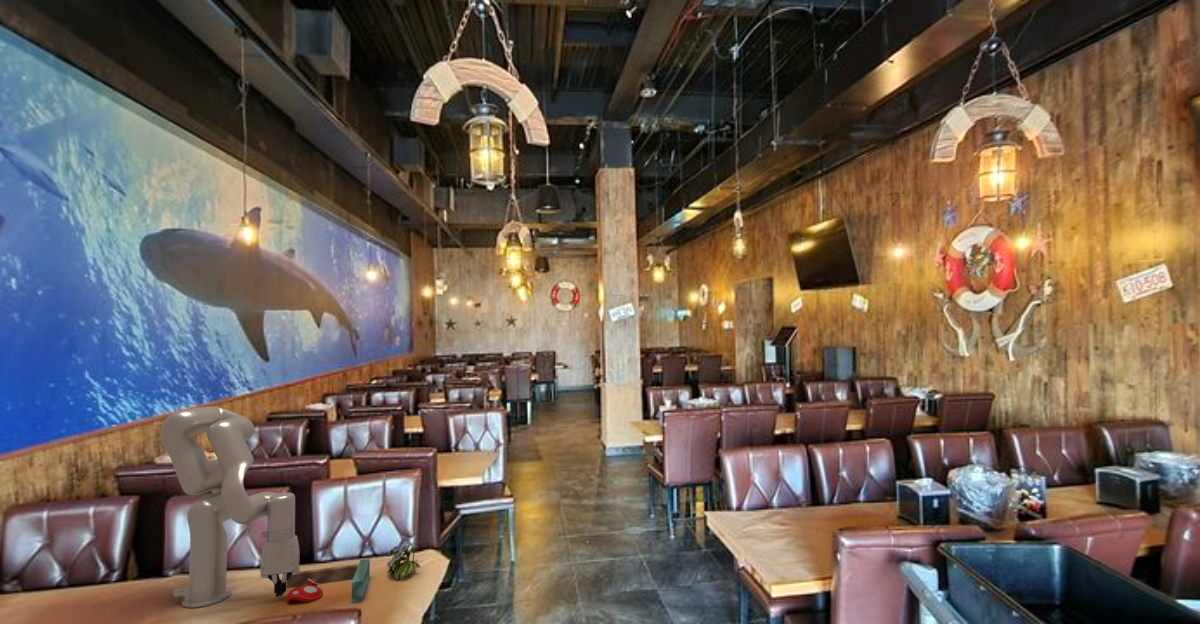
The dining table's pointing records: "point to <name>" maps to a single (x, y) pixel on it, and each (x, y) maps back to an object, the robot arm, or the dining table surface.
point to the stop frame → (337, 577)
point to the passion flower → (406, 565)
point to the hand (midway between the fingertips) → (280, 594)
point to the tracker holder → (306, 592)
